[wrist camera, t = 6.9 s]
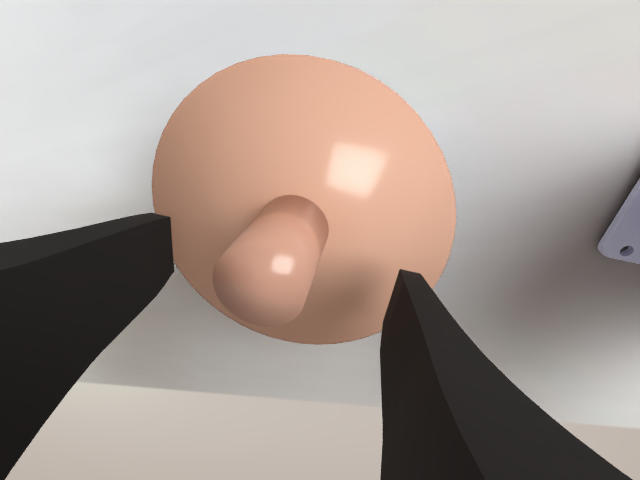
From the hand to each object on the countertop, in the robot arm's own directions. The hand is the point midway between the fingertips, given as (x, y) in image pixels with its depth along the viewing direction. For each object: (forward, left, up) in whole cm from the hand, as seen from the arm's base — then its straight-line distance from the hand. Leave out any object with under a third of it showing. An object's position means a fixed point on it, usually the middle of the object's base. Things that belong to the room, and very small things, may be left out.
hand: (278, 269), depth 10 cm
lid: (0, -1, -2) cm, 2 cm away
